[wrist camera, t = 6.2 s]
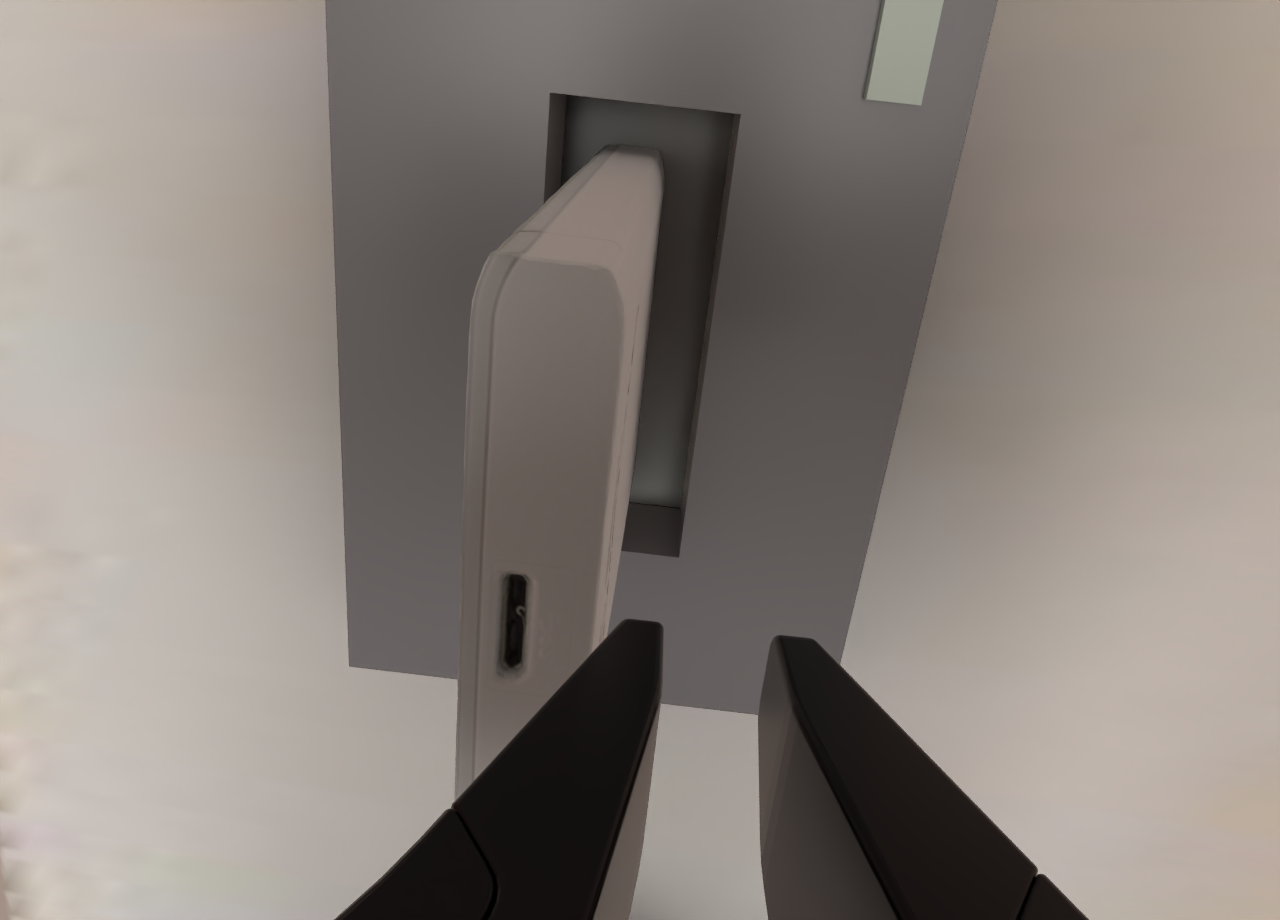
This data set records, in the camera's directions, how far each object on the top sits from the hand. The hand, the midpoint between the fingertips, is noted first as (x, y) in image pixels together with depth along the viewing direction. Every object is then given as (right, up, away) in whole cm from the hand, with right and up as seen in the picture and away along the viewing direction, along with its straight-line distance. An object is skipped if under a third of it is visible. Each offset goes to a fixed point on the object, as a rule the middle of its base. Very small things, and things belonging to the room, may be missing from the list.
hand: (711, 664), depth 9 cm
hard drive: (-1, +5, +12) cm, 13 cm away
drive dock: (-1, +5, +12) cm, 13 cm away
